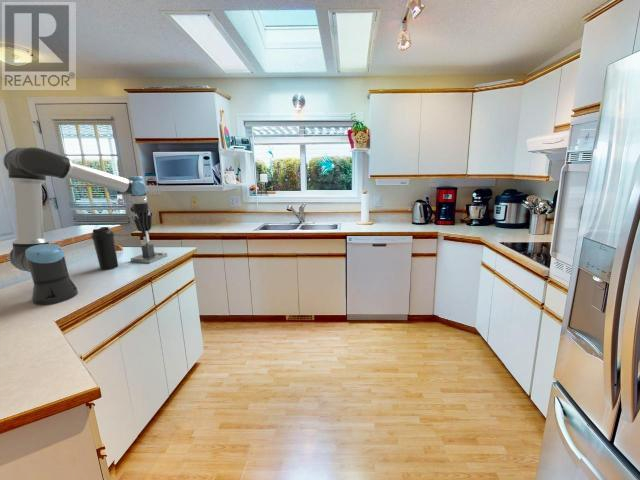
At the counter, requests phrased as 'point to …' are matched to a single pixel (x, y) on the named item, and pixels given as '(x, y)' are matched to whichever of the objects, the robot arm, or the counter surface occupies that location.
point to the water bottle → (105, 248)
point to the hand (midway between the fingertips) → (146, 241)
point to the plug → (148, 250)
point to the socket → (149, 260)
